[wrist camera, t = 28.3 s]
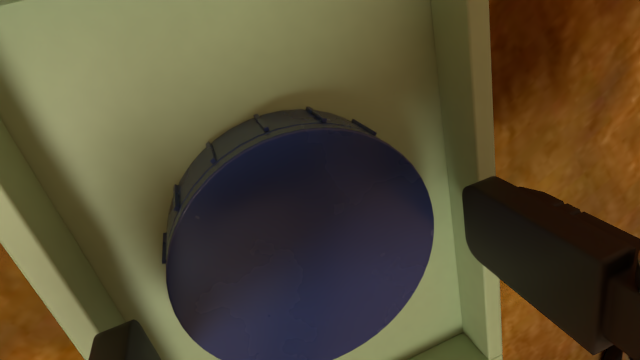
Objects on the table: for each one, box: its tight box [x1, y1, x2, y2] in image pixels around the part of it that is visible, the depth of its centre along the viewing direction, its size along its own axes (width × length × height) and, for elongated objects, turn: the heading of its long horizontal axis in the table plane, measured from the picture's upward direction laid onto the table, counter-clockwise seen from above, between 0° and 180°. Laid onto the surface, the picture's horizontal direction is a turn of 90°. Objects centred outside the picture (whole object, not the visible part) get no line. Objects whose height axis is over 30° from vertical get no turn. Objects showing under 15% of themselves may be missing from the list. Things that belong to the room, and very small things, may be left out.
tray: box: [0, 0, 503, 360], centre depth 11 cm, size 15×11×2 cm
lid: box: [162, 107, 434, 360], centre depth 11 cm, size 7×7×2 cm
